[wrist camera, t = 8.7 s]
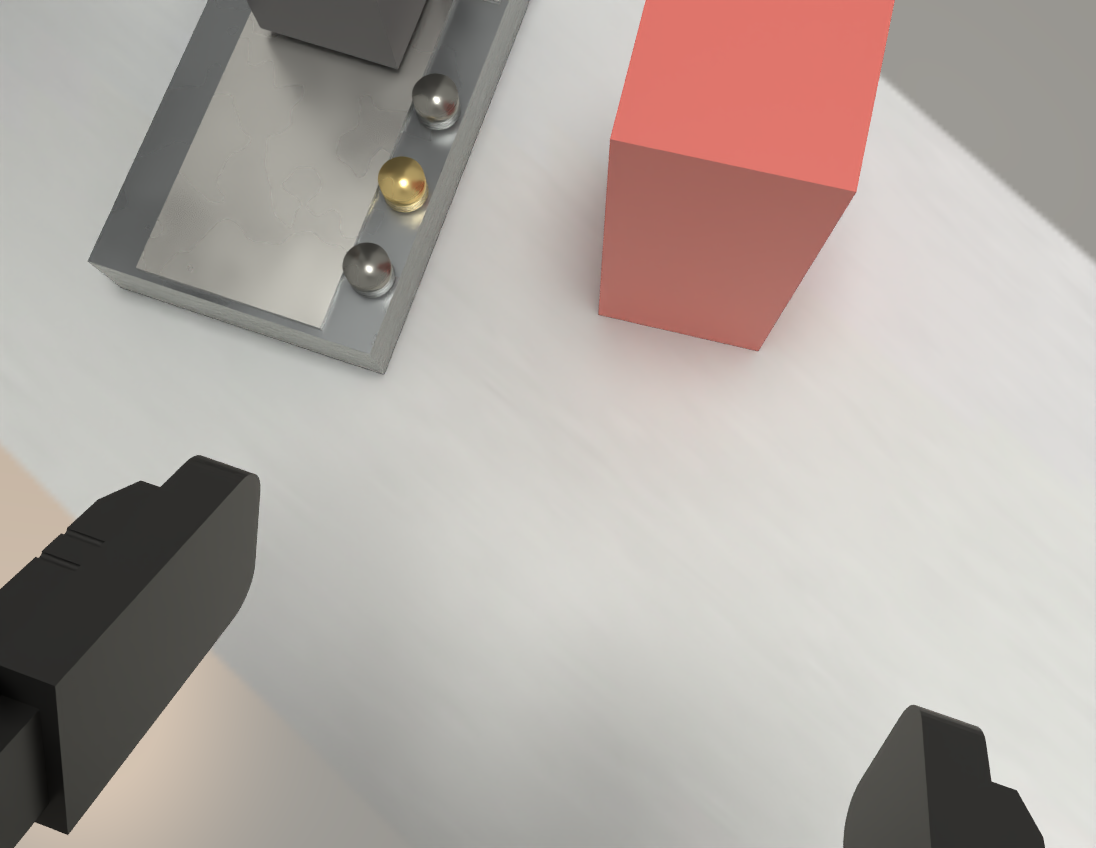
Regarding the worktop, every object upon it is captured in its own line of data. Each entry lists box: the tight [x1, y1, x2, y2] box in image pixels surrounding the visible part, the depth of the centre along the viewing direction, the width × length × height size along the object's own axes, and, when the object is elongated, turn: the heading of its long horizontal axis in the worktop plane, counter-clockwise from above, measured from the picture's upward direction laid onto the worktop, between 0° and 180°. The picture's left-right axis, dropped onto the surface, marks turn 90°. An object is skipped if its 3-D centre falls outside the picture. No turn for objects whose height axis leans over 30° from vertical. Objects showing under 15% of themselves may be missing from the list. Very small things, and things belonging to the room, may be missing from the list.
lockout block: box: [598, 0, 895, 351], centre depth 24 cm, size 4×4×10 cm
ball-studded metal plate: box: [88, 0, 530, 374], centre depth 27 cm, size 13×8×5 cm, turn 161°
